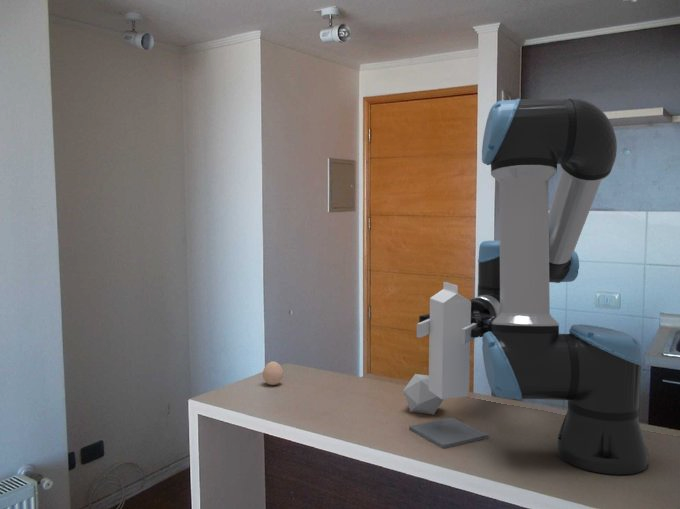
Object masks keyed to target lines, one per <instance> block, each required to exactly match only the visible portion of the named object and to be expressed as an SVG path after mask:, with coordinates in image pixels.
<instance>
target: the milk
mask: <svg viewBox="0 0 680 509" xmlns="http://www.w3.org/2000/svg"><path fill="white" fill-rule="evenodd" d="M442 286H443V288H442V289H441V290H439V292H437V293H435V294H434V295H432V296H431V297H429V314H430V332H429V334H428V335H429V337H428V338H429V339H428V340H429V342H428V343H429V345H428V347H429V348H428V349H429V350H428V376H429V391H431V392H432V393H433V394H435V395H436V396H438V397H439V398H440V399H444V400H447V399H449V400H450V399H459V398H468V397H470V372H471V371H470V370H471V369H470V366H471V364H470V362H471V341H469V342H467V343H466V344H462V343H461V329H463V328H464V327H466V326H468V325H470V324H471V301H470V300H471V299H468V298H466V297H465V296H463V295H461V294H459V291H458V290H459V288H458V287H459V286H458V284H454V283H450V282H447V281H443V284H442Z"/></svg>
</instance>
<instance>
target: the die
mask: <svg viewBox="0 0 680 509" xmlns="http://www.w3.org/2000/svg"><path fill="white" fill-rule="evenodd" d="M402 391H403V395H404V397H405V400H406V403H407V405H408V408H409V411H410V412H411V413H419V414H425V415H431V414H432V416H434V415H435V413H436V412H437V410H438V409H439V407H440V406H441V404H442V403H443V401H444V400H445V399H440V398H439V397H438V396H436V395H435V394H433V393H432V392H431V391H429V374H428V375H427V374H419V373H414V375H413V376H412V378H411V379H410V380H409V382H407V384H406V386H405V388H404V389H403V390H402Z"/></svg>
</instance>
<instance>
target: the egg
mask: <svg viewBox="0 0 680 509" xmlns="http://www.w3.org/2000/svg"><path fill="white" fill-rule="evenodd" d="M262 378H263V381H265V383H266V384H268V385H270V386H275V385H276V386H277V385H278V384H280V382H281V381H282V380H283V378H284V371H283V368H282V365H280V363H278V362H276V361H270V362H268V363H266V365H265V366H264V367H263V371H262Z"/></svg>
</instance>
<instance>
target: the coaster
mask: <svg viewBox="0 0 680 509" xmlns="http://www.w3.org/2000/svg"><path fill="white" fill-rule="evenodd" d="M408 429H409V430H410V431H411V432H413V433H415V434H417V435H419V436H420V437H422V438H424V439H426V440H428V441H429V442H431V443H433V444H435V445H437V446H438V447H440V448H442V449H447V448H450V447H454V446H459V445H463V444H468V443H471V442H477V441H480V440H485V439H488V438H489V434H488V433H486V432H484V431H481V430H479V429H477V428H475V427H473V426H472V425H470V424H469V425H468V424H467V423H465V422H463V421H460V420H458V419H456V418H454V417H449V418H443V419H439V420H434V421H429V422H424V423H419V424H414V425H409V427H408Z"/></svg>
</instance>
